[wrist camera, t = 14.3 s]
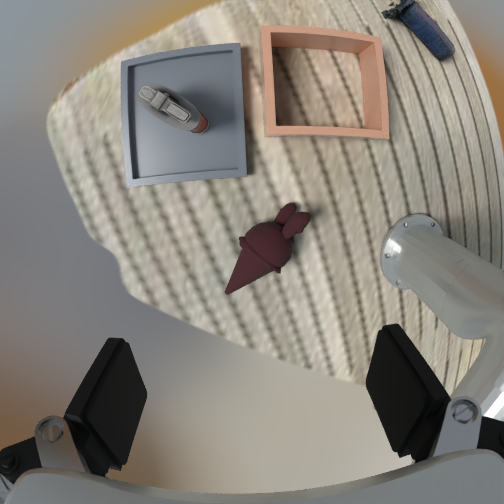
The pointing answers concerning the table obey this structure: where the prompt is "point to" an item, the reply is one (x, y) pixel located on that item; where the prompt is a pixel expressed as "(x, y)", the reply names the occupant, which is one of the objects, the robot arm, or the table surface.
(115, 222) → the table surface
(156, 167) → the tray
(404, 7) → the dark blue piece
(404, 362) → the robot arm
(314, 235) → the table surface
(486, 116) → the table surface
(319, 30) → the pink open box
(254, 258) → the icecream
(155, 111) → the lighter
